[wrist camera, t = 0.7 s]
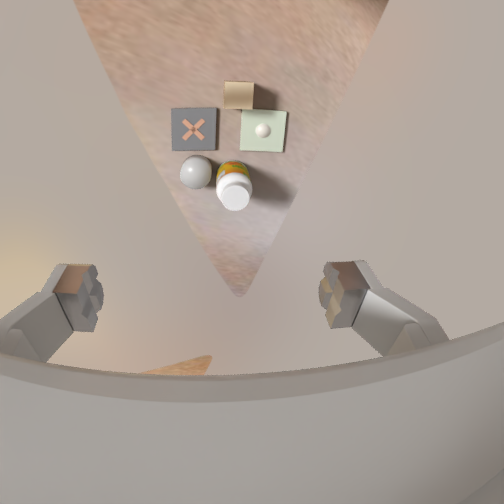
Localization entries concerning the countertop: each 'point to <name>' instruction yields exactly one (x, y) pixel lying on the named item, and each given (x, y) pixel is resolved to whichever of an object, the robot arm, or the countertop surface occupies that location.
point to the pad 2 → (262, 130)
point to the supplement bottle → (233, 185)
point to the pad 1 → (193, 128)
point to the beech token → (238, 95)
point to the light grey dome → (196, 172)
